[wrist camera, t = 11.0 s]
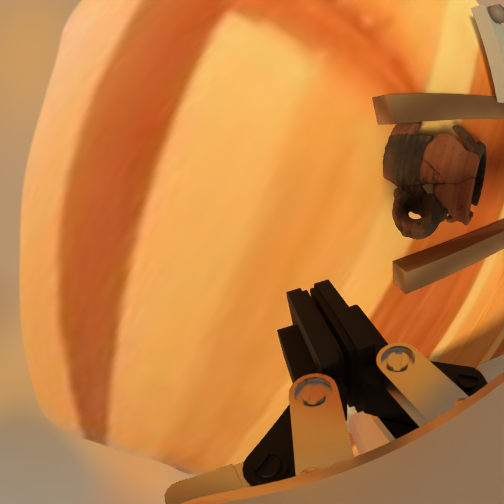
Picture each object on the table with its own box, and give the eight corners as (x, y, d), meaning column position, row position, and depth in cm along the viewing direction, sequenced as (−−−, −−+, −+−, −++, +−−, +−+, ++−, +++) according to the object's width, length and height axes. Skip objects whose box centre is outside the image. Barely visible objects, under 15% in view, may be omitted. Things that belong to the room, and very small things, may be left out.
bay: (529, 221, 28) (549, 231, 24) (392, 282, 27) (416, 303, 23) (525, 102, 21) (548, 104, 17) (372, 97, 20) (401, 92, 16)
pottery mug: (405, 93, 21) (488, 112, 15) (422, 159, 28) (487, 181, 22) (348, 192, 20) (450, 231, 15) (377, 246, 27) (448, 282, 21)
